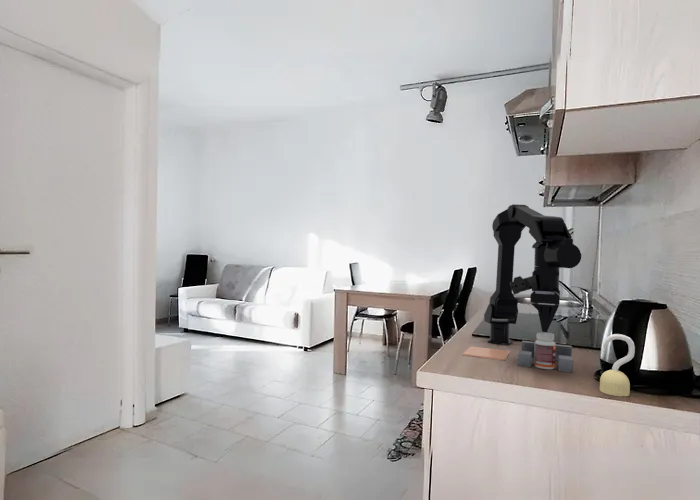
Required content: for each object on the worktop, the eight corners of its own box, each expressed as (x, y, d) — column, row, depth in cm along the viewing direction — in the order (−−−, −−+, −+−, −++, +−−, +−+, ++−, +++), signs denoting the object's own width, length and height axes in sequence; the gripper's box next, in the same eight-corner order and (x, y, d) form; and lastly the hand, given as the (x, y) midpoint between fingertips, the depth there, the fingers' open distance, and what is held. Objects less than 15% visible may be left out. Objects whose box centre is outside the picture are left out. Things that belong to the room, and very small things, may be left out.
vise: (523, 351, 123) (523, 338, 124) (570, 357, 118) (571, 342, 118) (517, 365, 108) (518, 349, 108) (572, 372, 102) (572, 355, 102)
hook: (604, 394, 87) (605, 335, 87) (596, 387, 92) (597, 330, 92) (638, 398, 85) (639, 337, 85) (629, 390, 90) (630, 333, 90)
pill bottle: (557, 370, 104) (558, 336, 104) (536, 368, 105) (537, 334, 105) (552, 365, 109) (553, 332, 109) (532, 364, 110) (533, 331, 110)
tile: (470, 347, 127) (470, 346, 127) (509, 352, 122) (509, 350, 122) (462, 355, 117) (462, 353, 117) (505, 360, 113) (505, 359, 113)
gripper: (516, 264, 119) (514, 321, 119) (508, 266, 102) (506, 331, 102) (560, 266, 114) (559, 324, 114) (560, 268, 97) (558, 336, 97)
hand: (545, 329), depth 107 cm, fingers open, 9 cm apart
